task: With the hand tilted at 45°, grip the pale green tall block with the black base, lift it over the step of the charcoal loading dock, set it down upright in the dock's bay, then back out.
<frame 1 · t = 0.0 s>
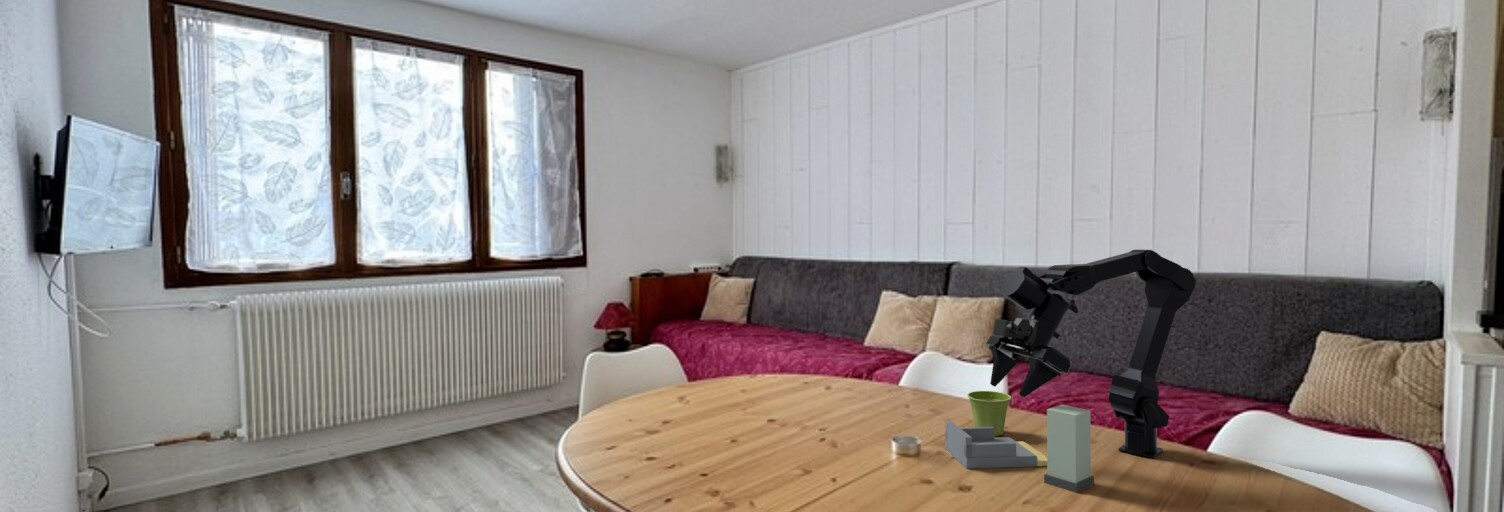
hand: (1006, 390, 125), 15 cm above the table, tool tilted 35°, fingers open, 9 cm apart
pale green tall block: (1069, 483, 116), on the table
dock: (989, 457, 131), on the table
plant pot: (989, 434, 147), on the table
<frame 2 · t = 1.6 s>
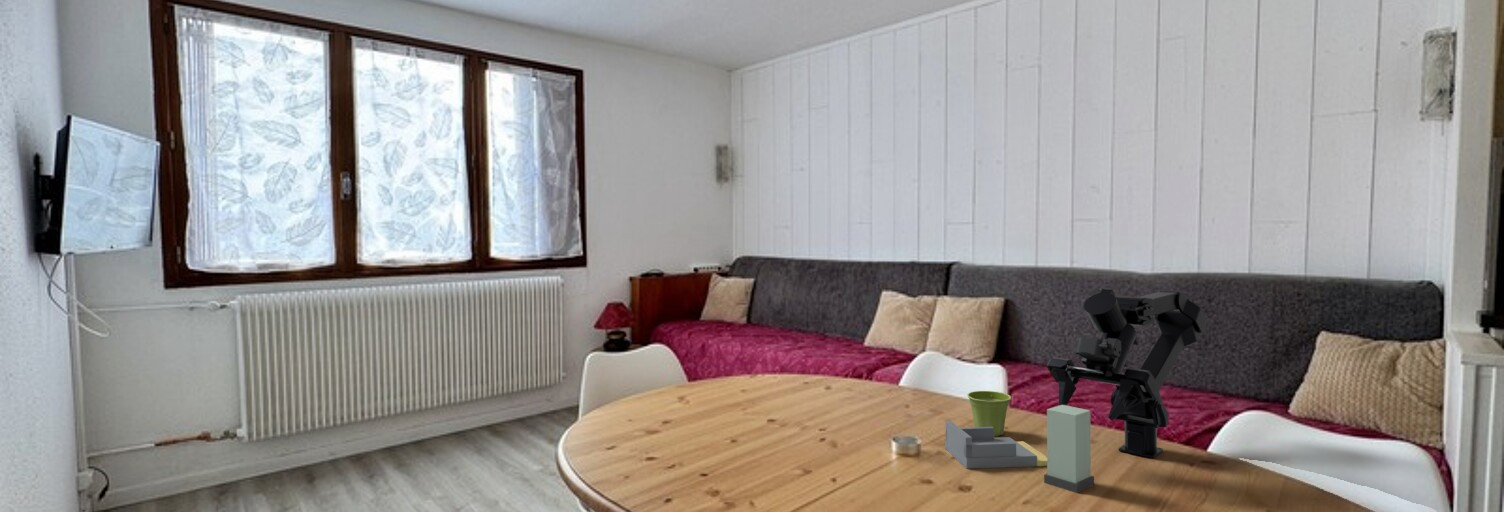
hand: (1084, 413, 119), 12 cm above the table, tool tilted 45°, fingers open, 9 cm apart
nothing on the table moved.
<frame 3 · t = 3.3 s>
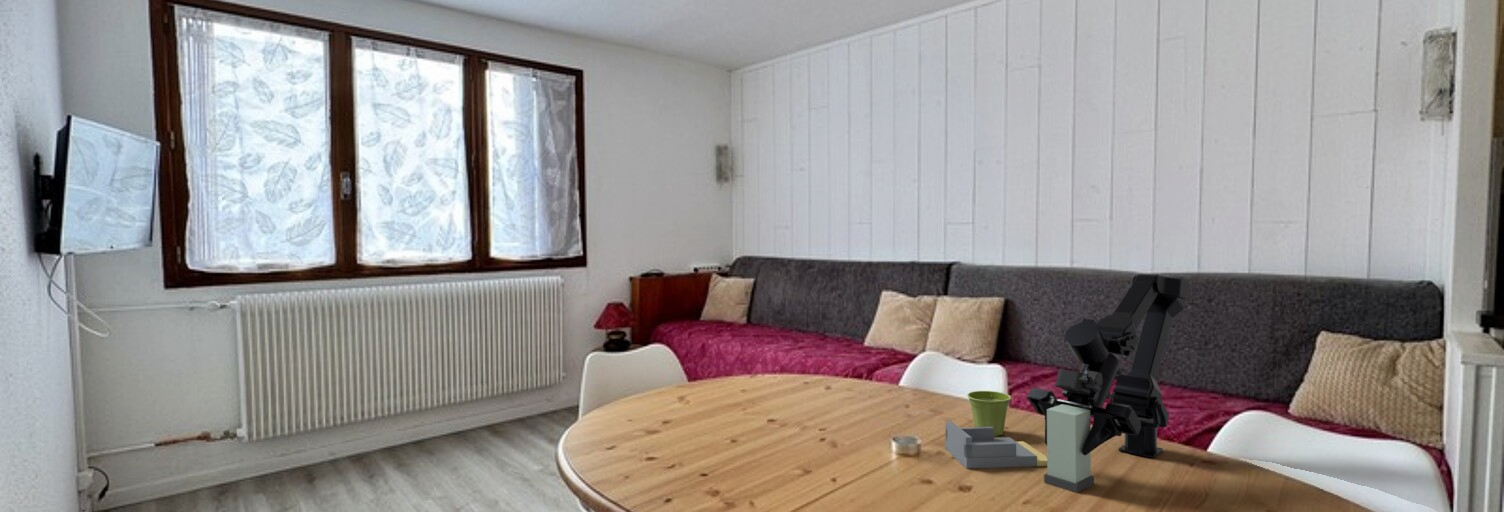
hand: (1064, 448, 115), 7 cm above the table, tool tilted 45°, fingers open, 6 cm apart
pale green tall block: (1069, 483, 116), on the table, touching gripper
everything else where it was.
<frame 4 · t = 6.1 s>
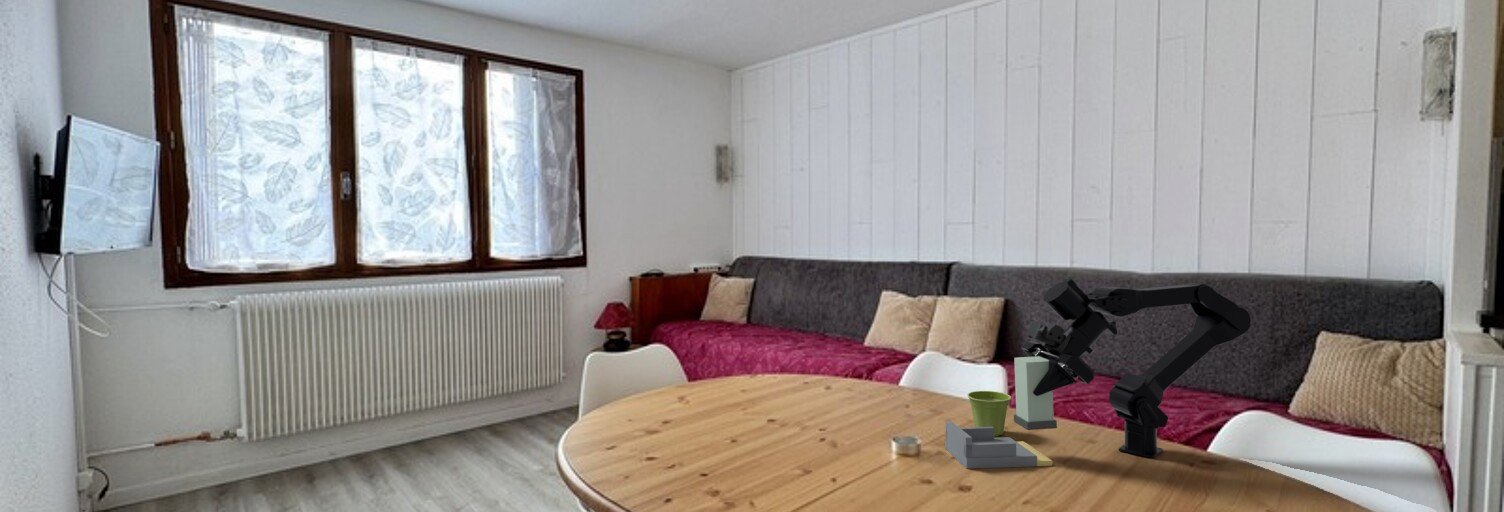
hand: (1028, 391, 131), 13 cm above the table, tool tilted 45°, fingers closed on pale green tall block, 5 cm apart
pale green tall block: (1034, 424, 131), point 6 cm above the table, touching gripper
everything else where it was.
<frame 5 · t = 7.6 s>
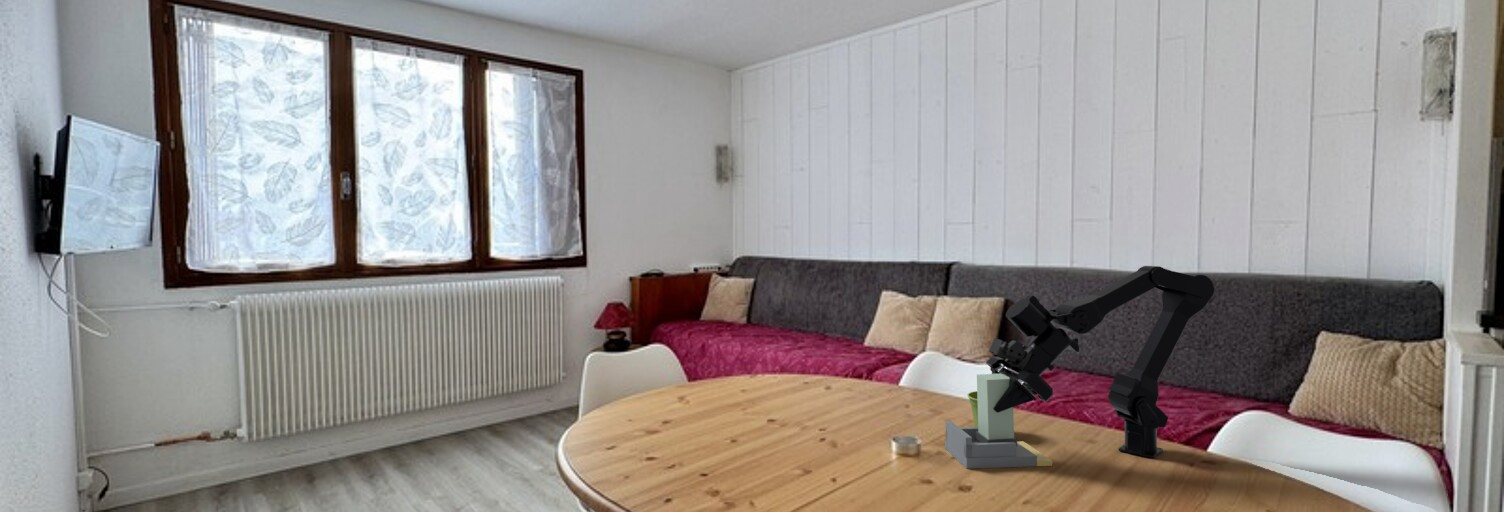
hand: (989, 407, 131), 10 cm above the table, tool tilted 45°, fingers closed on pale green tall block, 5 cm apart
pale green tall block: (996, 442, 131), point 3 cm above the table, touching gripper
everything else where it was.
when the fingers open (9 cm above the table, at t = 8.4 s): pale green tall block stays where it is, resting on dock.
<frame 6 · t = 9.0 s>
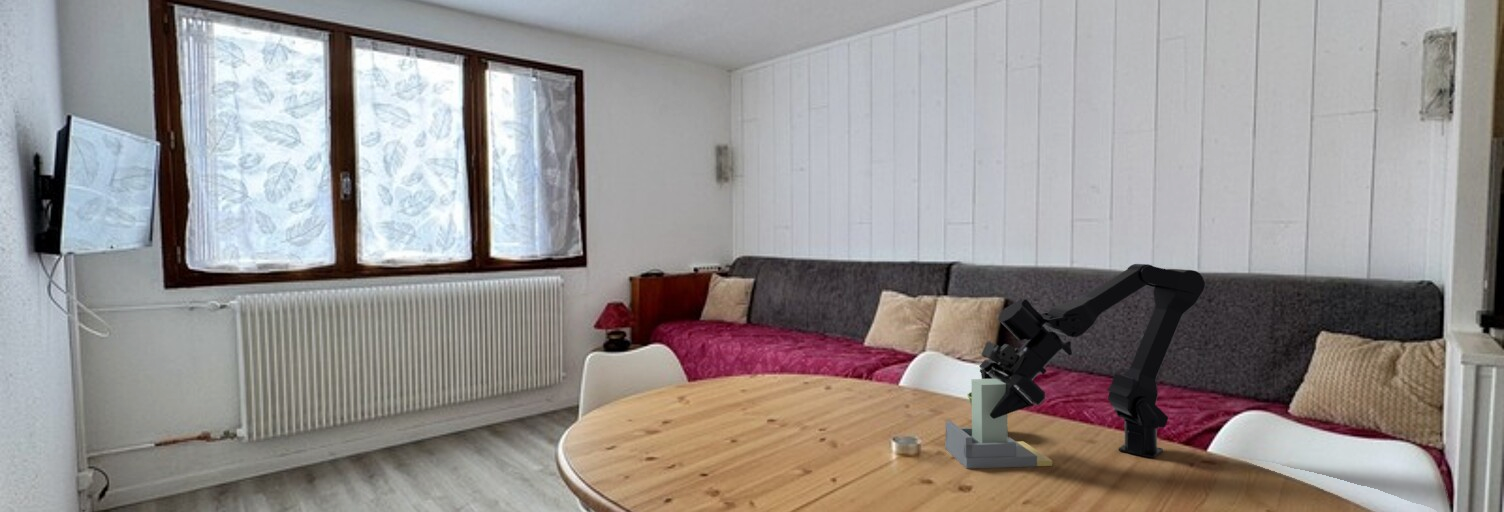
hand: (982, 410, 131), 10 cm above the table, tool tilted 45°, fingers open, 9 cm apart
pale green tall block: (989, 447, 131), point 2 cm above the table, touching dock
everything else where it was.
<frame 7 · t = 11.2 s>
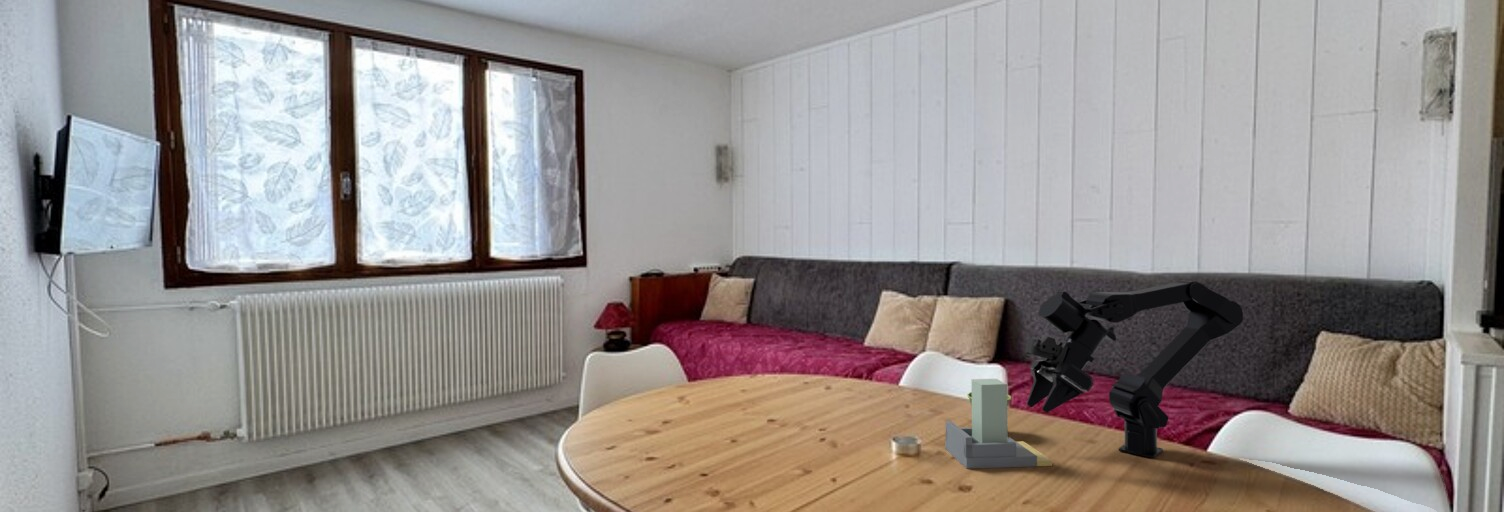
hand: (1036, 408, 130), 10 cm above the table, tool tilted 35°, fingers open, 9 cm apart
nothing on the table moved.
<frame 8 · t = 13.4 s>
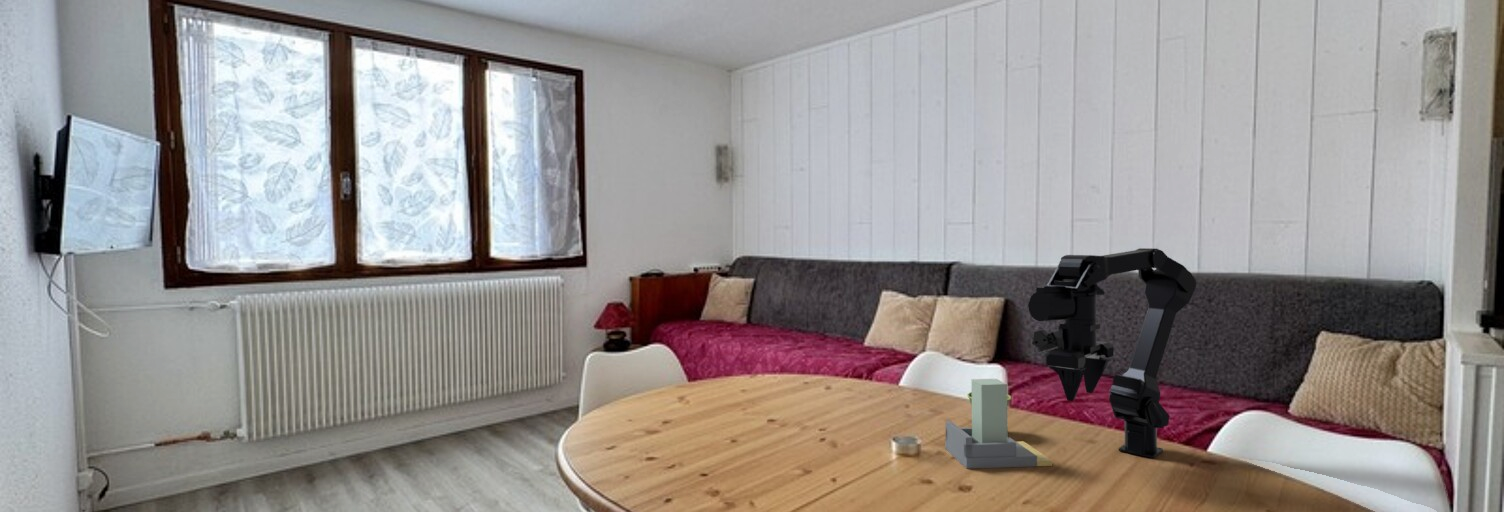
hand: (1080, 396, 127), 13 cm above the table, tool pointing down, fingers open, 9 cm apart
nothing on the table moved.
at the end: pale green tall block inside the target area on the dock (0.1 cm from its centre), point 2.0 cm above the dock's base; pale green tall block tilted 0°; the gripper is holding nothing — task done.
